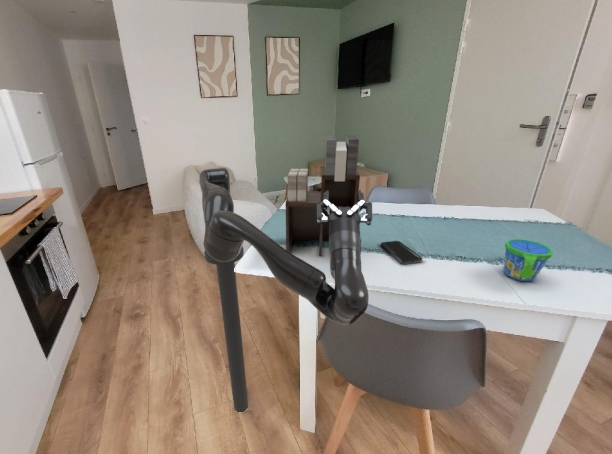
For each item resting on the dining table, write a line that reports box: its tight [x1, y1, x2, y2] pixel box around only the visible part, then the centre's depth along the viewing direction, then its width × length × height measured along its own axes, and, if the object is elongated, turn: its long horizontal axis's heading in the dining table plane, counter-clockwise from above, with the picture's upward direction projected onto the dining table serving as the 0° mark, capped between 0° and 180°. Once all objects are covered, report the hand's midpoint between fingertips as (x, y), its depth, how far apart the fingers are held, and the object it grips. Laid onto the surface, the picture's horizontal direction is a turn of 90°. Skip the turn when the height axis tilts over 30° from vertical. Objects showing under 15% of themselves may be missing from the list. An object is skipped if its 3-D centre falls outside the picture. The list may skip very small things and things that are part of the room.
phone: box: [380, 240, 423, 265], centre depth 105 cm, size 8×1×15 cm
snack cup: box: [503, 238, 554, 282], centre depth 87 cm, size 16×10×10 cm
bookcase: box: [285, 134, 361, 257], centre depth 104 cm, size 14×24×41 cm, turn 79°
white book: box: [334, 141, 347, 181], centre depth 93 cm, size 20×3×9 cm, turn 166°
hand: (343, 192), depth 81 cm, fingers open, 8 cm apart
